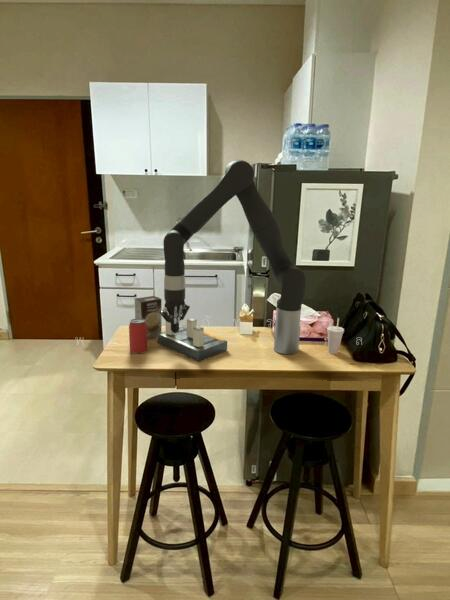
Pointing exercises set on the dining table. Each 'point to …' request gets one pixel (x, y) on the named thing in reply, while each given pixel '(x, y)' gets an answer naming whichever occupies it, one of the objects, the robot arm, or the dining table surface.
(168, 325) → the handle
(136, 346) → the beer can
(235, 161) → the robot arm
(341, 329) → the smoothie
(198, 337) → the handle
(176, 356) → the dining table surface
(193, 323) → the handle
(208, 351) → the panel
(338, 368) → the dining table surface
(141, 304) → the coffee box
